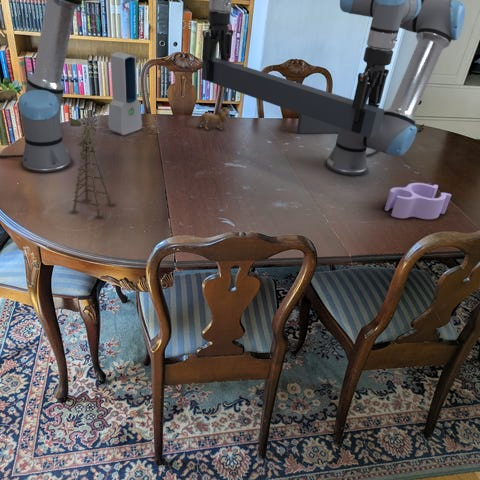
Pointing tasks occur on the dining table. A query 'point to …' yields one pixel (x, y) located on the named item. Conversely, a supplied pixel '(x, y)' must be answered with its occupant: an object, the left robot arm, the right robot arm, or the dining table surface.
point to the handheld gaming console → (314, 126)
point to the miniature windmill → (86, 142)
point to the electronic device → (124, 95)
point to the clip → (417, 201)
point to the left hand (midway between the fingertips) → (215, 79)
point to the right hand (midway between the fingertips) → (360, 129)
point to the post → (294, 96)
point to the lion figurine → (214, 118)
